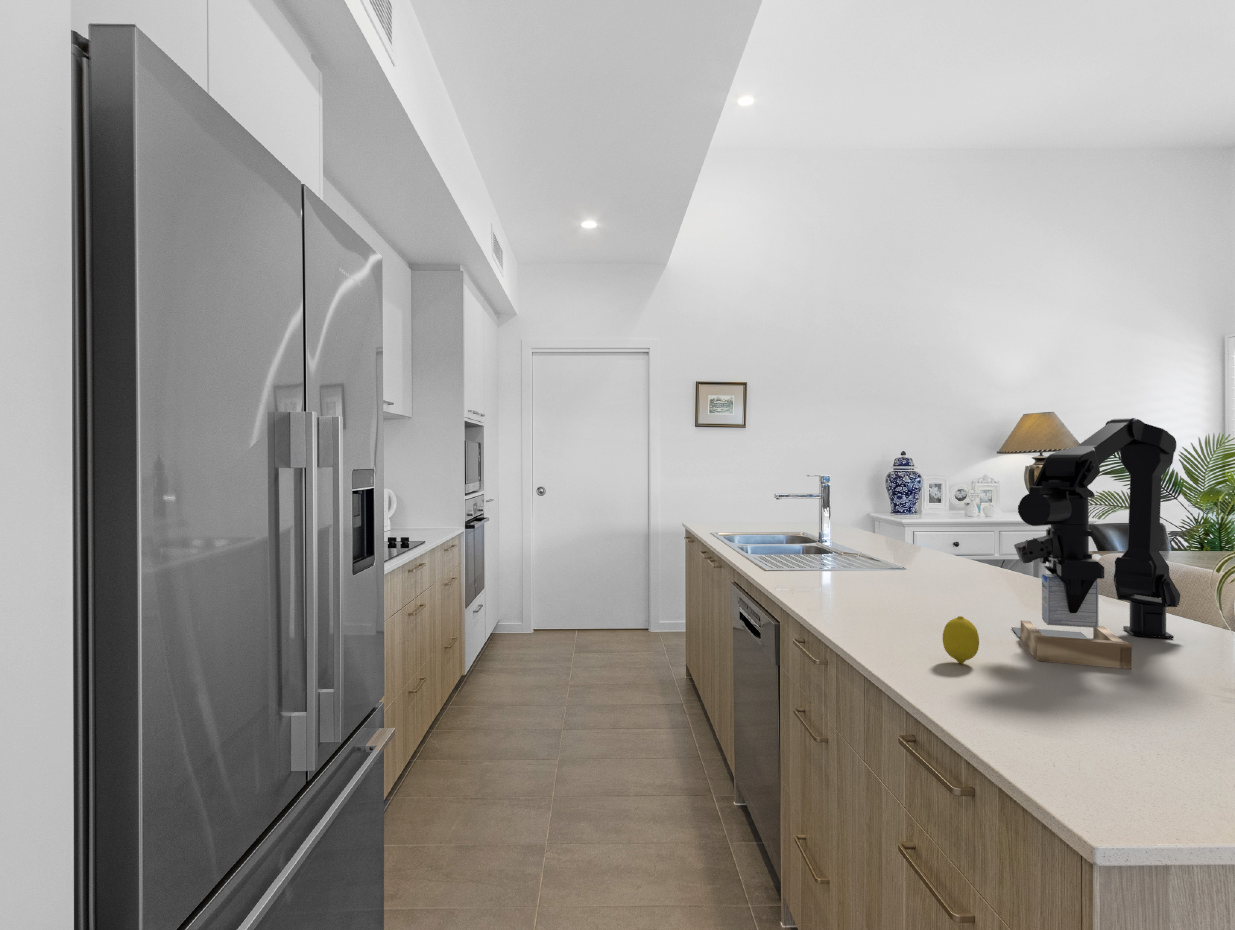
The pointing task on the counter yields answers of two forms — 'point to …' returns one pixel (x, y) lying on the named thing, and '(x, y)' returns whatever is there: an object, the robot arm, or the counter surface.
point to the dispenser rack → (1078, 647)
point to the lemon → (960, 639)
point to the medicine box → (1058, 609)
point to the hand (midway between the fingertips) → (1069, 610)
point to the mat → (1052, 632)
